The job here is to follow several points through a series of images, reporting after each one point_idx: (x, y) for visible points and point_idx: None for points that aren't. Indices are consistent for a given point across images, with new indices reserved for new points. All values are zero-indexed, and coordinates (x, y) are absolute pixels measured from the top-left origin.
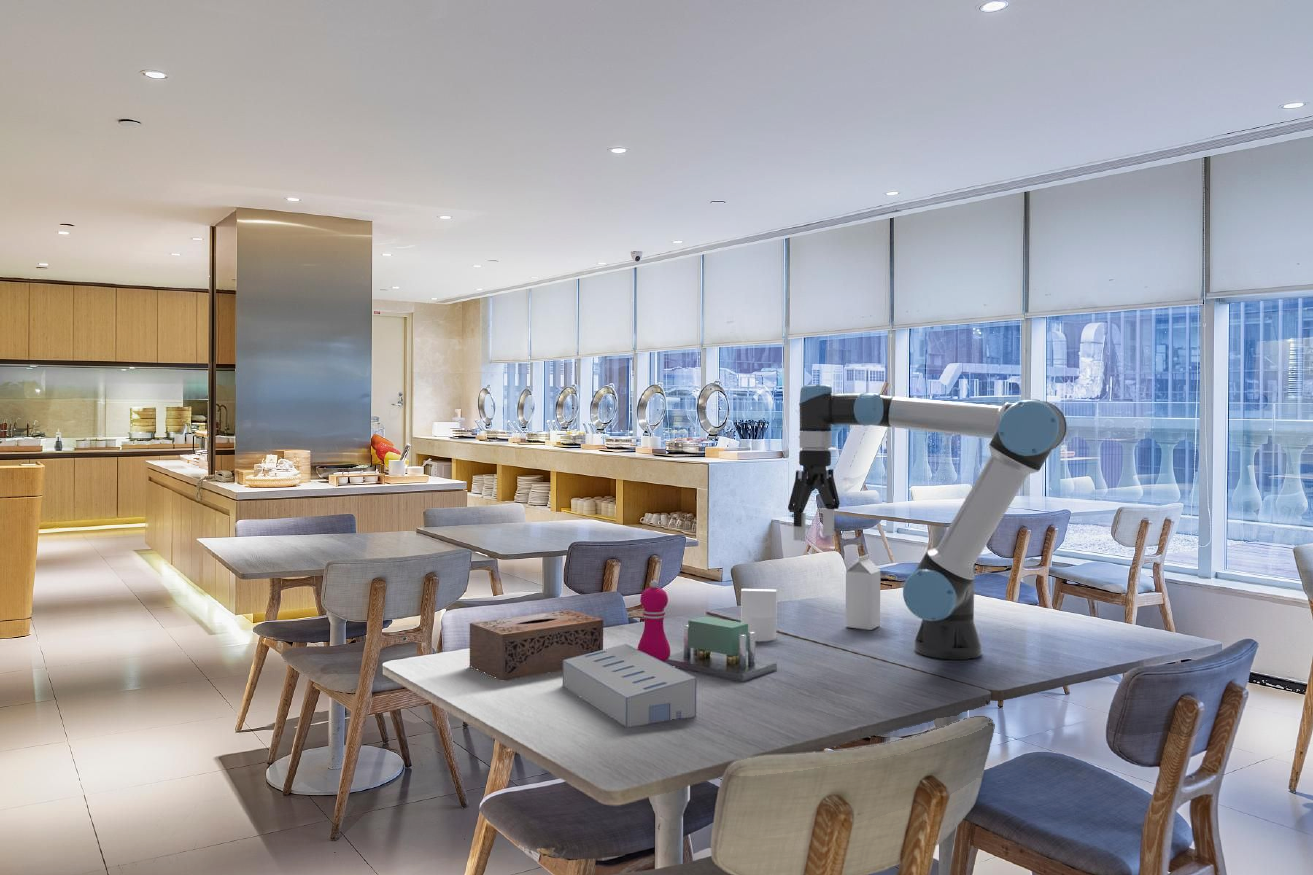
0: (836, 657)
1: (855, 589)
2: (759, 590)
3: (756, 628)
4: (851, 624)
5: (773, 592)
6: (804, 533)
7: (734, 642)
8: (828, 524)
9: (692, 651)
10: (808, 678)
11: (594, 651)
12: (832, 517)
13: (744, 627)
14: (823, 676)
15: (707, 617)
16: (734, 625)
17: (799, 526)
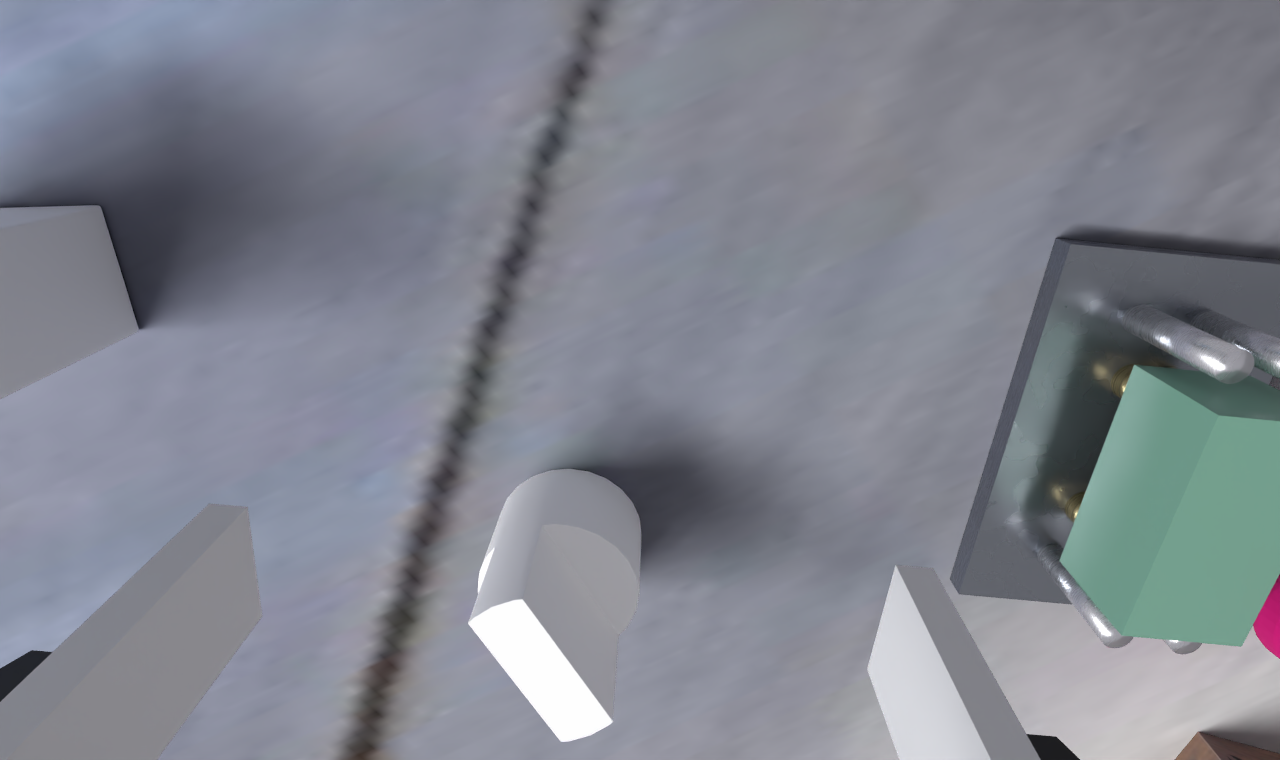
0: (713, 115)
1: None
2: (551, 667)
3: (633, 539)
4: (121, 306)
5: (530, 604)
6: (947, 627)
7: (1276, 395)
8: (172, 652)
9: (1027, 578)
10: (1147, 55)
11: None
12: (80, 686)
13: (1238, 412)
14: (1085, 11)
15: (1142, 615)
16: None
17: (1054, 738)
